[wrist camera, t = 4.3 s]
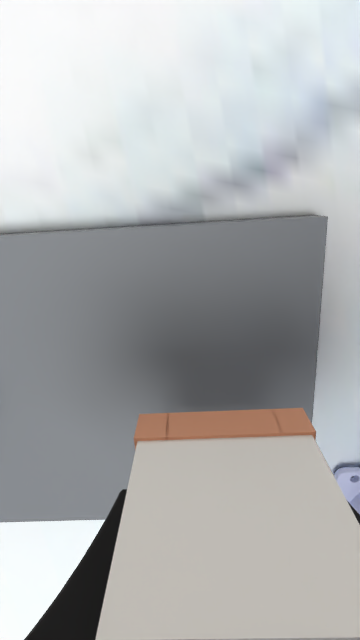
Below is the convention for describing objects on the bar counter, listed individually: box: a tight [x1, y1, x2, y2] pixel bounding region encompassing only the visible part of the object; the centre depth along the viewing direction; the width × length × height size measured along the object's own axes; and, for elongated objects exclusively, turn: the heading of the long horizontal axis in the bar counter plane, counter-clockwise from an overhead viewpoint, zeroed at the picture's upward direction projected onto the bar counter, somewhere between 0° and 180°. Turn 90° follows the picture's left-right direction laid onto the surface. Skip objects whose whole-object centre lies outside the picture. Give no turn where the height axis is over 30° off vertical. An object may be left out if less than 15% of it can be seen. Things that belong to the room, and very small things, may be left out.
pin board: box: [0, 215, 328, 522], centre depth 18 cm, size 22×16×2 cm
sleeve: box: [95, 408, 360, 640], centre depth 9 cm, size 5×5×6 cm
